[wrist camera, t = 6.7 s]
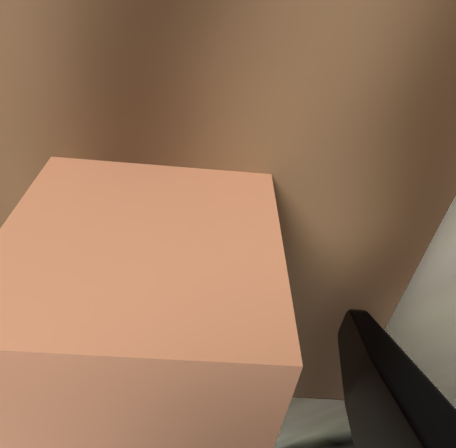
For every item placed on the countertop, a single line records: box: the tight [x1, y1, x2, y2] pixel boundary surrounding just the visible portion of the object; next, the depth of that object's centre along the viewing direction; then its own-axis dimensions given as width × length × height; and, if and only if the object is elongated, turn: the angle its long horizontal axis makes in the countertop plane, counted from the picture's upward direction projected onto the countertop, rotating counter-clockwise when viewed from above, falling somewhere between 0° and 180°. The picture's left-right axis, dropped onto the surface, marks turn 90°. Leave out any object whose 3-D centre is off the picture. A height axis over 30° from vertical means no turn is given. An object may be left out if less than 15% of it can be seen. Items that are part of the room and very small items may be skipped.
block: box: [0, 157, 303, 448], centre depth 9 cm, size 5×5×5 cm
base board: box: [0, 0, 456, 400], centre depth 12 cm, size 14×14×2 cm
